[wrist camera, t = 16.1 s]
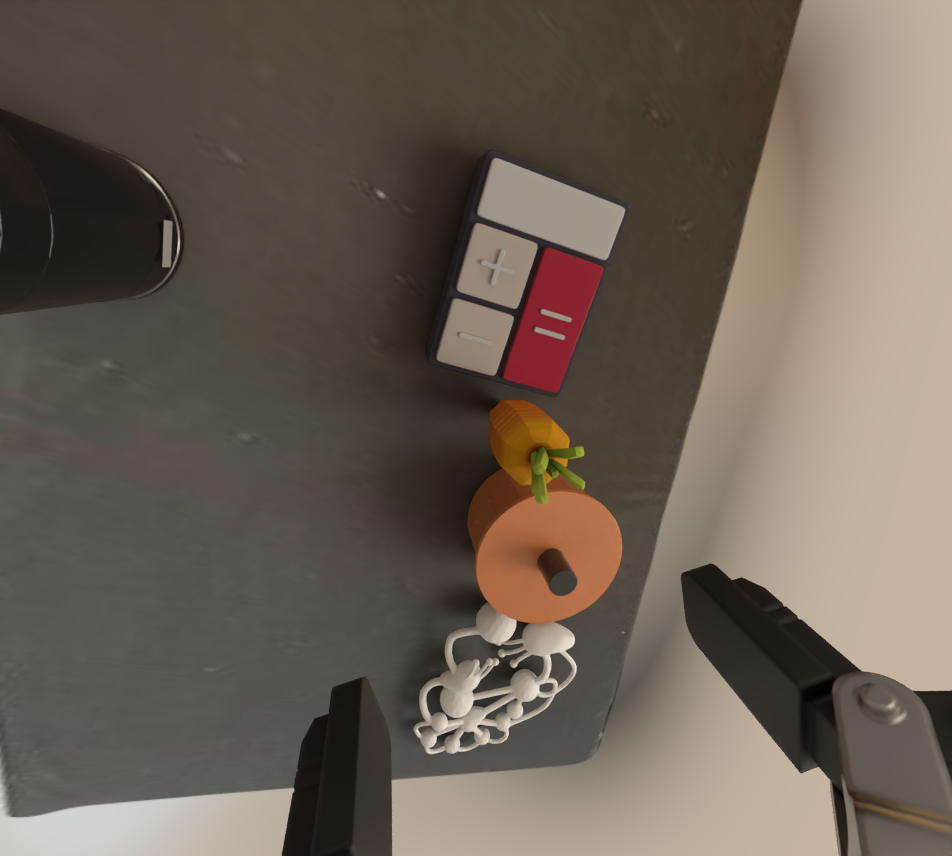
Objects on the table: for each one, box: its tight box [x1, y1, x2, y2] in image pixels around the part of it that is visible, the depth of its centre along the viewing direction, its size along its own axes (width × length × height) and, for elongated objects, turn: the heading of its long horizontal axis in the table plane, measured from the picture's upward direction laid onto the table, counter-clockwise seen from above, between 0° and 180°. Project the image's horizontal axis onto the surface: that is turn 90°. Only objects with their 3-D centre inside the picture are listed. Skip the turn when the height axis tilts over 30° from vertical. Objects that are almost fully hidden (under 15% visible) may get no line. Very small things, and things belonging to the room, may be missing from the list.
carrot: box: [489, 400, 585, 504], centre depth 35 cm, size 5×5×15 cm
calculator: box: [426, 150, 630, 397], centre depth 37 cm, size 11×4×15 cm
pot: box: [467, 468, 586, 554], centre depth 42 cm, size 11×11×7 cm
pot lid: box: [475, 489, 622, 623], centre depth 38 cm, size 12×12×4 cm
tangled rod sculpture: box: [414, 602, 577, 754], centre depth 49 cm, size 19×14×4 cm
